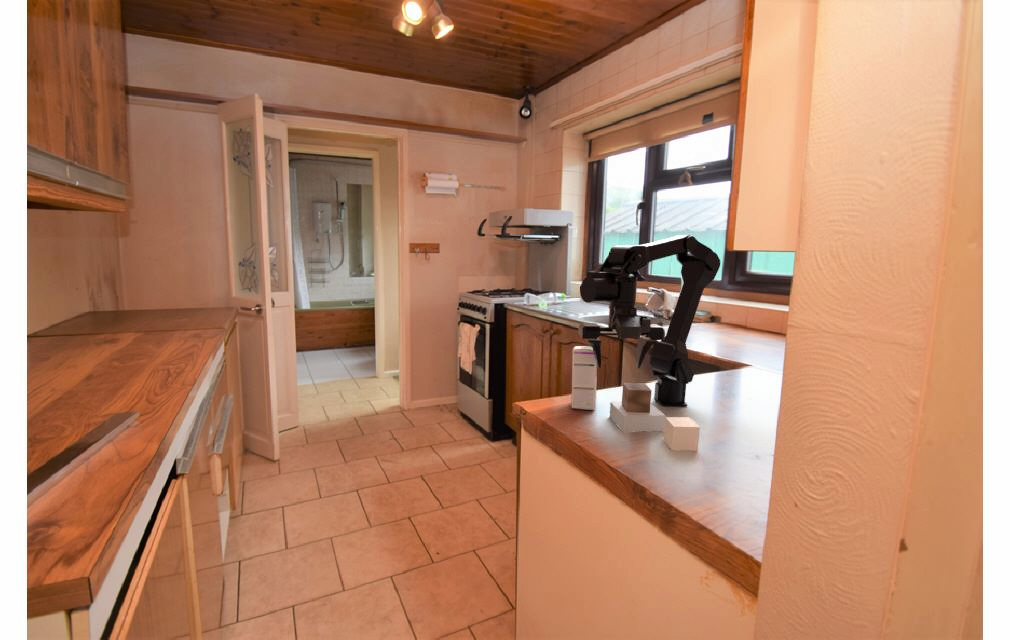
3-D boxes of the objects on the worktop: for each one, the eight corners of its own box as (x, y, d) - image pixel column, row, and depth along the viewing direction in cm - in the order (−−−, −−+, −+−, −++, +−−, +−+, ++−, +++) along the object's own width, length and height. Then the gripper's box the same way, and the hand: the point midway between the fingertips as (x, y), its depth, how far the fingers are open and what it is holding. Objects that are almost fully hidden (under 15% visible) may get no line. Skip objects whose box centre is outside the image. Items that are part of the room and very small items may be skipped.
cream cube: (687, 440, 95) (689, 417, 94) (697, 451, 90) (699, 427, 89) (663, 440, 95) (665, 417, 94) (671, 450, 90) (673, 426, 89)
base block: (646, 417, 108) (648, 401, 108) (663, 433, 100) (665, 415, 99) (609, 418, 107) (610, 401, 107) (623, 434, 99) (624, 416, 98)
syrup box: (595, 410, 110) (598, 349, 109) (570, 408, 111) (572, 348, 110) (595, 404, 116) (598, 346, 115) (571, 402, 117) (573, 345, 116)
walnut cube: (643, 404, 105) (645, 383, 104) (649, 412, 100) (651, 390, 99) (621, 404, 105) (623, 382, 105) (626, 411, 100) (627, 389, 100)
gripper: (589, 304, 97) (585, 376, 100) (677, 306, 98) (671, 378, 100) (579, 298, 108) (576, 363, 111) (658, 300, 109) (653, 365, 111)
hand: (618, 367), depth 108 cm, fingers open, 9 cm apart
